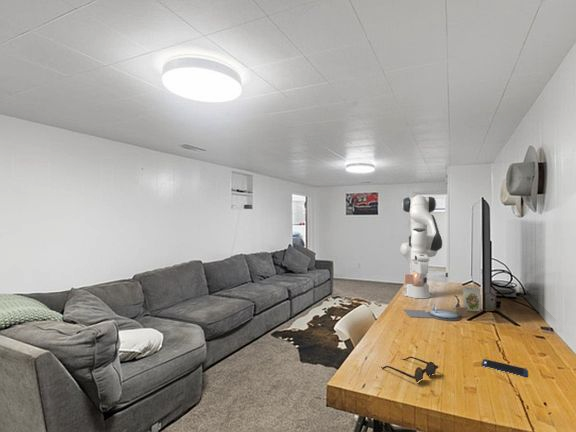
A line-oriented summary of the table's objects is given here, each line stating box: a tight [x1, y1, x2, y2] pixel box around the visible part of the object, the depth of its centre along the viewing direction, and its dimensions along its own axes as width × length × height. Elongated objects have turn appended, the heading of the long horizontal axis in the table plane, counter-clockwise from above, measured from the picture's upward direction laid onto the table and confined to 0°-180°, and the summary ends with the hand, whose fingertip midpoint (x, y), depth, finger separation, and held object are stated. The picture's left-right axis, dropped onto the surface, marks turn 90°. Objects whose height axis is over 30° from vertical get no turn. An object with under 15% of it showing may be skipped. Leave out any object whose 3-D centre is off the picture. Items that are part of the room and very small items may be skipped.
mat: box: [402, 309, 433, 319], centre depth 186 cm, size 14×12×1 cm
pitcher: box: [458, 285, 482, 312], centre depth 196 cm, size 11×18×14 cm, turn 61°
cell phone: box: [481, 358, 528, 378], centre depth 119 cm, size 7×14×1 cm, turn 54°
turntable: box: [429, 303, 468, 319], centre depth 183 cm, size 20×14×5 cm
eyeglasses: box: [380, 356, 439, 383], centre depth 116 cm, size 15×15×5 cm
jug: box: [403, 271, 424, 287], centre depth 186 cm, size 6×12×8 cm, turn 86°
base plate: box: [427, 311, 462, 322], centre depth 183 cm, size 17×17×1 cm
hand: (418, 280), depth 186 cm, fingers closed on jug, 6 cm apart
